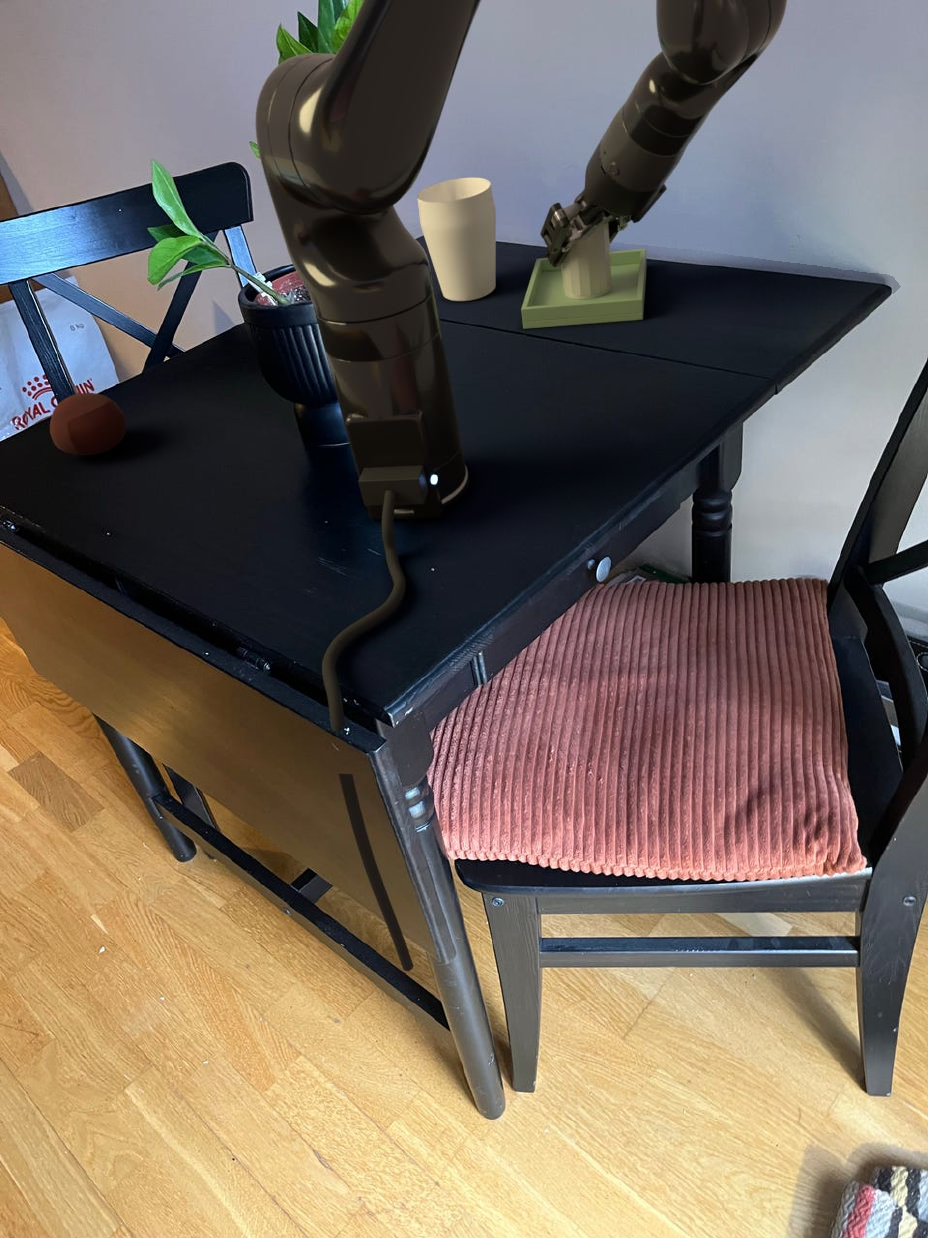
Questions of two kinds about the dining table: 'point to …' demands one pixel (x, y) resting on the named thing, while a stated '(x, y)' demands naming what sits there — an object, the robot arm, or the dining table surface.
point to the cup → (461, 236)
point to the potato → (87, 424)
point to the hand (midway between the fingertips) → (576, 250)
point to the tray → (556, 309)
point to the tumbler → (588, 266)
